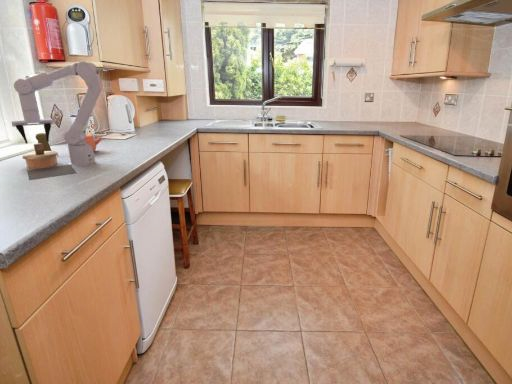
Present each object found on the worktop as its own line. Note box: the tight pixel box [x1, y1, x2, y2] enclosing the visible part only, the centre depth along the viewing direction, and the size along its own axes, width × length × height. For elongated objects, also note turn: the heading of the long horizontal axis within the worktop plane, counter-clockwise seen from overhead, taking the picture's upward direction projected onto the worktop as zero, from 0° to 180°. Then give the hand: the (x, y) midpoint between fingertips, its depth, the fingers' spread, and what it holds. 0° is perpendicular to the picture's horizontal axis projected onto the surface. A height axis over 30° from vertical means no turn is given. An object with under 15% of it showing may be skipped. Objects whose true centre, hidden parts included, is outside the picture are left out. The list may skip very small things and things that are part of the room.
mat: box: [26, 164, 77, 181], centre depth 133 cm, size 16×17×1 cm
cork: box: [35, 132, 53, 151], centre depth 160 cm, size 6×6×11 cm
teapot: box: [62, 133, 103, 152], centre depth 167 cm, size 14×12×10 cm
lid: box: [21, 143, 59, 160], centre depth 140 cm, size 13×13×5 cm
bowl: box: [24, 156, 58, 169], centre depth 142 cm, size 11×11×4 cm
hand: (37, 142), depth 140 cm, fingers open, 7 cm apart
